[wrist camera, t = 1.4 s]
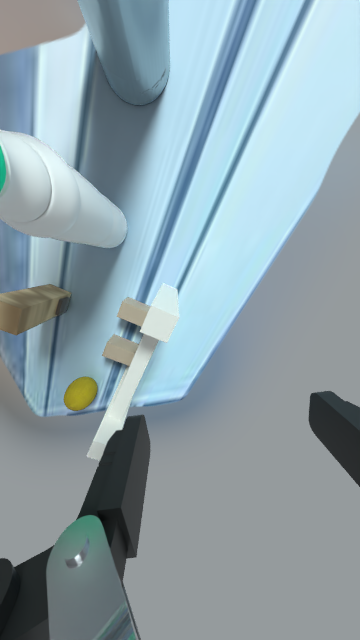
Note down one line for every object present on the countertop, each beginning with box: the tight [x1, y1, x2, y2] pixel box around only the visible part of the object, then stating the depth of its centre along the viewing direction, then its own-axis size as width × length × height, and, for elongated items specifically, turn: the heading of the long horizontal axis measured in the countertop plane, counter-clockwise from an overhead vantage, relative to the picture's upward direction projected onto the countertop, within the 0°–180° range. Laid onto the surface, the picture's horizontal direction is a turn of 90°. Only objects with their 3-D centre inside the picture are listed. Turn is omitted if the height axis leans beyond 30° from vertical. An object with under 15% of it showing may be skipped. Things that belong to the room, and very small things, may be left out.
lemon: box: [64, 377, 97, 411], centre depth 37 cm, size 6×6×8 cm
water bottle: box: [0, 130, 127, 248], centre depth 20 cm, size 7×7×25 cm
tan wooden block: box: [0, 284, 71, 335], centre depth 30 cm, size 5×4×12 cm
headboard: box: [87, 283, 179, 461], centre depth 29 cm, size 8×22×18 cm, turn 155°
